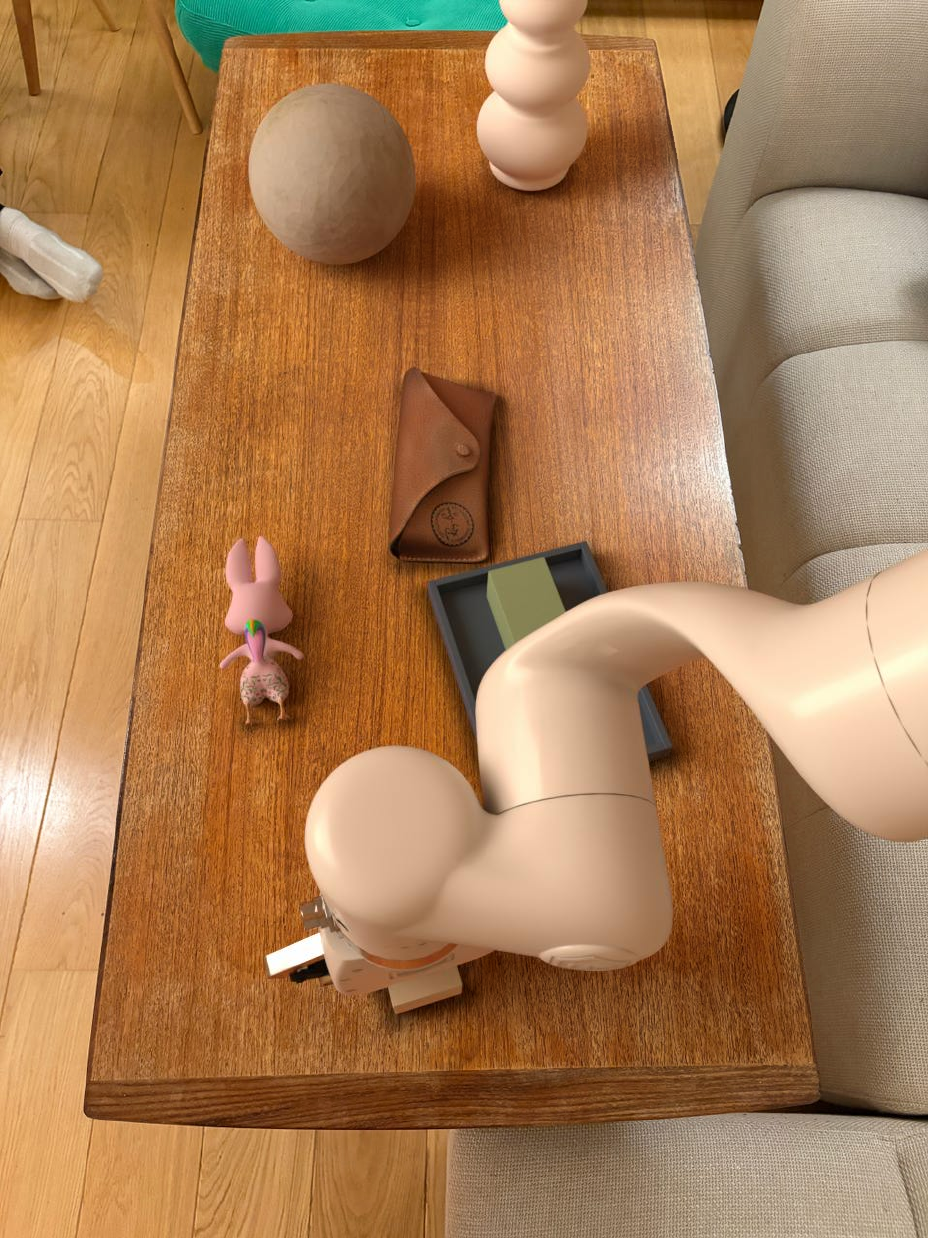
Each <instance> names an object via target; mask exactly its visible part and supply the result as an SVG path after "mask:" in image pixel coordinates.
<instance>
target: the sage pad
mask: <svg viewBox="0 0 928 1238" xmlns="http://www.w3.org/2000/svg"><path fill="white" fill-rule="evenodd" d="M487 599H488V602H489V605H490V608H491V610H492V613H493V616H494V619H495V622H496V624H497V627H498V630H499V633H500V636H501V639H502V641H503V644H504V647H505V650H507V649H508V648H510V647H511V646H512V645H514V644H515V643H516V642H518V641H519V640H521V639H523V638H524V637H526V636H527V635H529V634H531V633H532V632H534V631H535V630H537V629H539V628H540V627H542V626H544V625H545V624H547V623H549V622H551V621H552V620H554V619H556V618H557V617H559V616H561V615H562V614H564V613H565V612H566V611H565V608H564V606H563V603H562V601H561V598H560V596H559V593H558V591H557V588H556V585H555V583H554V580H553V578H552V575H551V573H550V570H549V568H548V565H547V563H546V560H545V558H544V557H542V558H538V559H534V560H530V561H526V562H522V563H518V564H515V565H511V566H507V567H503V568H499V569H495V570H491V571H488V584H487Z"/></svg>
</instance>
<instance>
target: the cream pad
mask: <svg viewBox="0 0 928 1238" xmlns="http://www.w3.org/2000/svg"><path fill="white" fill-rule="evenodd" d="M387 990H388V993H389V997H390V1001H391V1005H392V1008H393V1010H394V1013H395V1015H398V1014H401V1013H405V1012H408V1011H411V1010H414V1009H418V1008H420V1007H423V1006H424V1007H425V1006H427V1005H429V1004H433V1003H435V1002H440V1001H442V1000H445V999H448V998H451V997H454V996H458V995H461V994H462V991H463V981H462V978H461V975H460V971H459V968H458V965H457V966H453V967H450V968H447V969H444V970H441V971H438V972H435V973H432V974H428V975H425V976H422V977H419V978H416V979H413V980H409V981H406V982H403V983H400V984H396V985H393V986H390V987H387Z"/></svg>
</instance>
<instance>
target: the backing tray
mask: <svg viewBox="0 0 928 1238" xmlns="http://www.w3.org/2000/svg"><path fill="white" fill-rule="evenodd" d="M542 557H544V558H545V560H546V563H547V565H548V568H549V570H550V573H551V575H552V578H553V580H554V583H555V585H556V588H557V591H558V593H559V596H560V598H561V601H562V603H563V606H564V608H565V611H566V612H567V611H569V610H570V609H572V608H574V607H576V606H578V605H579V604H581V603H583V602H585V601H587V600H589V599H592V598H594V597H596V596H599V595H602V594H605V593H608V589H607V586H606V584H605V582H604V579H603V577H602V574H601V573H600V570H599V568H598V565H597V563H596V560H595V558H594V555H593V554H592V550H591V549H590V546H589V544H588V541H587V540H584V541H580V542H577V543H572V544H569V545H566V546H565V545H564V546H561V547H557V548H553V549H548V550H544V551H541V552H537V553H533V554H529V555H525V556H521V557H517V558H513V559H510V560H505V561H502V562H499V563H493V564H490V565H487V566H482V567H478V568H474V569H471V570H467V571H463V572H459V573H456V574H455V573H454V574H451V575H447V576H444V577H439V578H435V579H432V580H428V581H427V594H428V598H429V601H430V604H431V607H432V610H433V613H434V616H435V620H436V622H437V625H438V627H439V631H440V634H441V637H442V640H443V641H442V642H443V643H444V647H445V649H446V652H447V656H448V659H449V663H450V665H451V668H452V672H453V674H454V677H455V680H456V683H457V687H458V689H459V693H460V696H461V699H462V701H463V705H464V708H465V711H466V714H467V716H468V720H469V723H470V726H471V729H472V732H473V735H474V738H475V742H477V730H476V699H477V692H478V689H479V685H480V683H481V681H482V678H483V677H484V675H485V673H486V672H487V670H488V669H489V668H490V666H491V665H492V664H493V662H494V661H495V660H496V659H497V658H498V657H499V656H500V655H501V654H502V653H503V652H505V651H506V650H505V647H504V644H503V641H502V639H501V636H500V633H499V630H498V627H497V624H496V622H495V619H494V616H493V613H492V610H491V608H490V605H489V602H488V599H487V584H488V571H491V570H495V569H499V568H503V567H507V566H511V565H515V564H518V563H522V562H526V561H530V560H534V559H538V558H542ZM638 703H639V708H640V714H641V721H642V727H643V733H644V739H645V744H646V750H647V756H648V761H649V763H650V762H653V761H658V760H660V759H664V758H666V757H669V755H670V753H671V751H672V749H673V747H674V746H673V743H672V741H671V739H670V736H669V734H668V732H667V729H666V727H665V724H664V722H663V720H662V718H661V715H660V712H659V710H658V708H657V705H656V703H655V701H654V698H653V696H652V694H651V691H650V689H649V687H648V684H646V685H645V686H643V687H642V688H641V689H640V690H639V692H638Z"/></svg>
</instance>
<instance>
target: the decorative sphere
mask: <svg viewBox="0 0 928 1238" xmlns="http://www.w3.org/2000/svg"><path fill="white" fill-rule="evenodd" d="M249 151H250V152H249V156H248V170H247V171H248V183H249V188H250V193H251V196H252V199H253V202H254V205H255V209H256V210H257V212H258V214H259V216H260V218H261V220H262V222H263V223H264V225H265V226H266V228H267V229H268V230H269V232H270V233H271V234H272V235H273V236H274V237H275V238H276V240H277V241H279V242H280V244H282V245H283V247H285V248H287V249H288V250H290V251H292V252H293V253H295V254H296V255H298V256H299V257H302V258H303V259H306V260H309V261H312V262H315V263H319V264H325V265H333V266H334V265H335V266H336V265H337V266H339V265H350V264H354V263H358V262H361V261H364V260H366V259H369V258H371V257H373V256H375V255H377V253H379V252H381V251H382V250H384V249H385V248H386V247H387V246H388V245H390V244H391V243H392V241H393V240H394V239H395V238H396V237H397V235H398V234H399V233H400V231H401V230H402V229H403V227H404V226H405V224H406V222H407V220H408V218H409V215H410V213H411V209H412V206H413V204H414V201H415V200H414V199H415V192H416V186H417V185H416V184H417V177H416V163H415V160H414V159H415V158H414V155H413V150H412V146H411V144H410V142H409V138H408V137H407V135H406V133H405V131H404V128H403V127H402V126H401V124H400V122H398V119H397V118H396V117H395V116H394V115H393V113H392V112H391V111H390V110H389V109H388V108H387V107H386V106H384V104H383V103H381V102H380V101H379V100H377V99H376V98H375V97H373V96H371V95H370V94H369V93H366V92H364V91H363V90H360V89H358V88H355V87H352V86H349V85H346V84H341V83H340V84H339V83H316V84H312V85H307V86H304V87H301V88H299V89H297V90H294V91H292V92H290V93H289V94H287V95H286V96H284V97H282V98H281V99H280V100H278V101H277V102H276V103H275V104H274V105H273V106H272V107H271V108H270V109H269V111H268V112H267V113H266V114H265V115H264V116H263V119H262V120H261V121H260V123H259V125H258V127H257V130H256V132H255V134H254V136H253V140H252V142H251V146H250V150H249Z"/></svg>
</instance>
